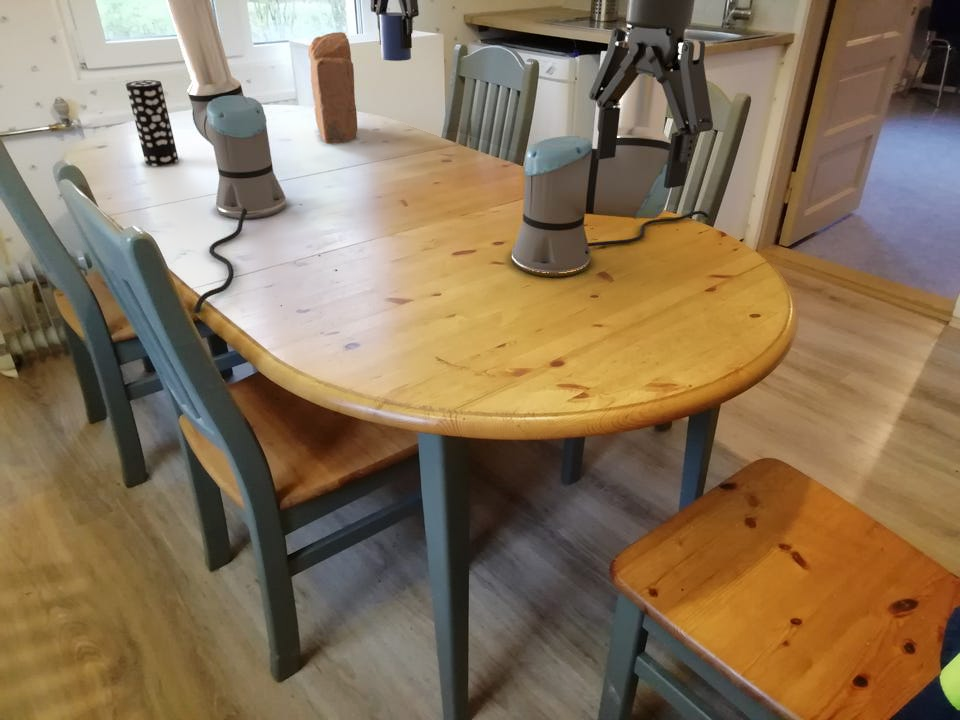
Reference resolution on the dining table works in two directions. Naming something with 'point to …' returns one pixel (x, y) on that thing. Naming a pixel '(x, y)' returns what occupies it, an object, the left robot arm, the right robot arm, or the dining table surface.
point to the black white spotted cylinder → (152, 122)
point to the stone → (333, 87)
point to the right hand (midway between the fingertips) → (637, 171)
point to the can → (392, 37)
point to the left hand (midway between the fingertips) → (395, 46)
